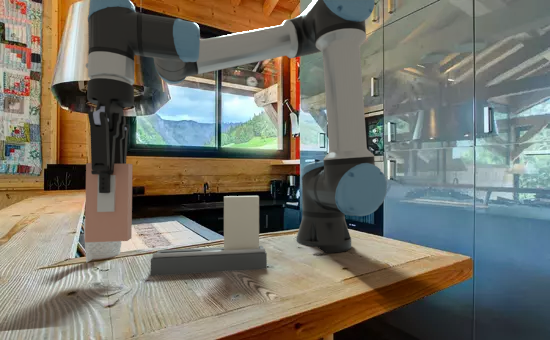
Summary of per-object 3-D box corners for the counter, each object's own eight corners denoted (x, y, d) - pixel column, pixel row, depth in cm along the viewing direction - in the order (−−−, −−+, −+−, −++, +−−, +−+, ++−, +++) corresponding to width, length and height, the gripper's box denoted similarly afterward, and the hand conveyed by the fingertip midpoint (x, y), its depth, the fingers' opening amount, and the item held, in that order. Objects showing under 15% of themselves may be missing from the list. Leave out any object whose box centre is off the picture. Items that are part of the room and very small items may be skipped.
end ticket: (131, 238, 55) (132, 164, 55) (127, 241, 53) (128, 163, 53) (90, 239, 54) (92, 163, 54) (84, 242, 52) (86, 163, 52)
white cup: (105, 267, 63) (105, 221, 63) (74, 265, 65) (74, 220, 65) (130, 257, 71) (130, 216, 71) (102, 255, 72) (102, 215, 73)
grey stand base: (262, 266, 63) (262, 241, 64) (266, 276, 57) (266, 249, 57) (158, 272, 60) (158, 246, 60) (150, 283, 53) (150, 254, 53)
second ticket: (257, 262, 61) (257, 195, 62) (259, 265, 59) (258, 196, 59) (223, 264, 60) (223, 196, 60) (223, 267, 58) (224, 197, 58)
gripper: (105, 93, 61) (104, 206, 60) (67, 66, 46) (64, 216, 45) (144, 95, 62) (142, 205, 62) (118, 69, 47) (116, 215, 46)
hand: (109, 210), depth 53 cm, fingers closed on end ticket, 2 cm apart
